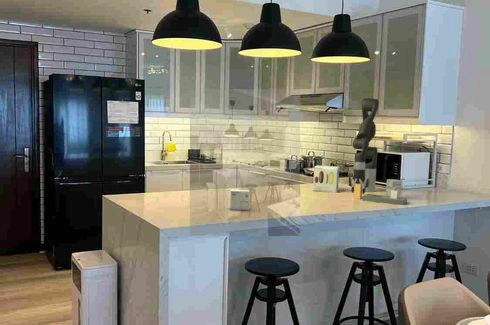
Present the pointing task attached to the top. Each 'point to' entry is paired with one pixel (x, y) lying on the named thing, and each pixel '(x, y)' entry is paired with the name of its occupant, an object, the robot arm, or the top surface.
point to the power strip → (386, 198)
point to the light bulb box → (239, 199)
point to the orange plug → (358, 191)
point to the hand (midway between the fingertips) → (358, 193)
